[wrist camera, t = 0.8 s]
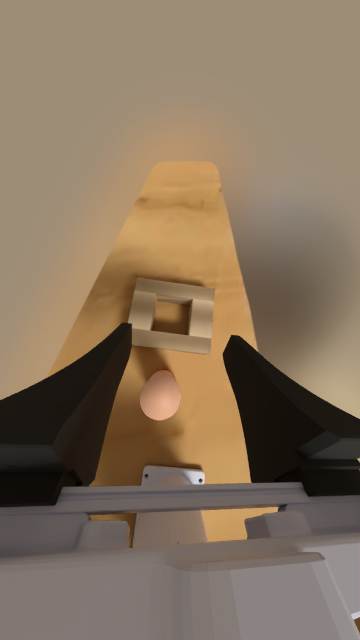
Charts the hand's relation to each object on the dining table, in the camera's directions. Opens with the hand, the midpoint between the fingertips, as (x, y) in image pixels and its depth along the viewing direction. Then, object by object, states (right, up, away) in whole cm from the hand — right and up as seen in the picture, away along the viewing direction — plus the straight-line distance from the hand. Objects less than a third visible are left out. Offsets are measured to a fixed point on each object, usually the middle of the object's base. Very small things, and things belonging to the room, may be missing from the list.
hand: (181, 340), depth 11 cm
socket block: (-1, +2, +14) cm, 14 cm away
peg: (-3, -8, +12) cm, 14 cm away
